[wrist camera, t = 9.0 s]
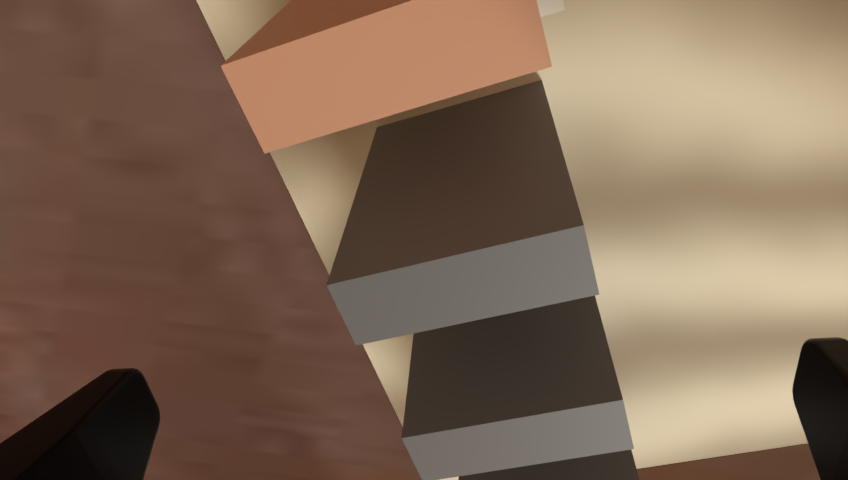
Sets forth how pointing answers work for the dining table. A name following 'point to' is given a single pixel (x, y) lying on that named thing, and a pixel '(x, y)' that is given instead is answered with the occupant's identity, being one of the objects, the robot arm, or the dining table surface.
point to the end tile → (376, 60)
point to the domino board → (665, 200)
